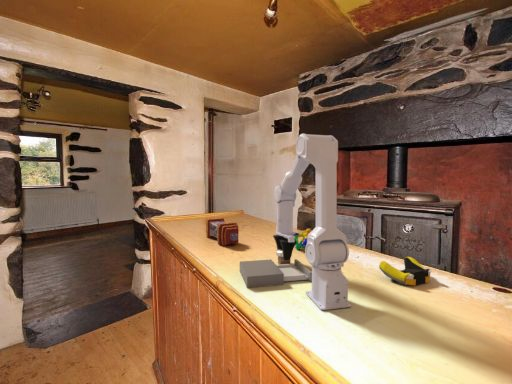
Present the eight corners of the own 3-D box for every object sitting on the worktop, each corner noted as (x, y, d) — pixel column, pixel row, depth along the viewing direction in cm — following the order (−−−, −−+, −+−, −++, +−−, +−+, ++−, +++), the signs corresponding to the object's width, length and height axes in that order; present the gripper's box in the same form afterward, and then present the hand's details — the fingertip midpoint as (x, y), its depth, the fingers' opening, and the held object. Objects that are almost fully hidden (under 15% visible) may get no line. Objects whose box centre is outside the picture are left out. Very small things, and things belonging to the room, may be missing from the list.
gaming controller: (375, 277, 83) (404, 290, 74) (376, 260, 82) (405, 271, 73) (407, 270, 89) (438, 281, 80) (408, 254, 88) (439, 264, 79)
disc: (294, 256, 91) (294, 252, 91) (279, 257, 90) (279, 253, 90) (288, 251, 97) (288, 248, 97) (274, 252, 95) (274, 249, 95)
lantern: (202, 217, 136) (225, 227, 110) (219, 215, 140) (245, 225, 115) (202, 235, 136) (225, 250, 111) (219, 233, 141) (245, 247, 115)
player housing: (283, 284, 76) (283, 273, 76) (247, 288, 74) (247, 276, 73) (271, 268, 89) (271, 259, 89) (239, 271, 86) (239, 261, 86)
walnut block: (290, 265, 92) (290, 255, 92) (280, 266, 91) (281, 256, 91) (286, 262, 96) (287, 252, 95) (277, 262, 95) (278, 253, 95)
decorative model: (330, 240, 112) (306, 236, 104) (322, 258, 113) (298, 255, 105) (310, 227, 123) (287, 222, 114) (303, 244, 124) (280, 240, 115)
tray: (313, 280, 79) (313, 272, 78) (278, 283, 76) (278, 275, 76) (297, 266, 91) (297, 259, 91) (266, 268, 88) (267, 261, 88)
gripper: (303, 223, 86) (302, 263, 87) (288, 216, 100) (287, 250, 101) (283, 223, 85) (282, 264, 86) (270, 216, 99) (270, 251, 100)
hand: (284, 257), depth 93 cm, fingers closed on disc, 6 cm apart
